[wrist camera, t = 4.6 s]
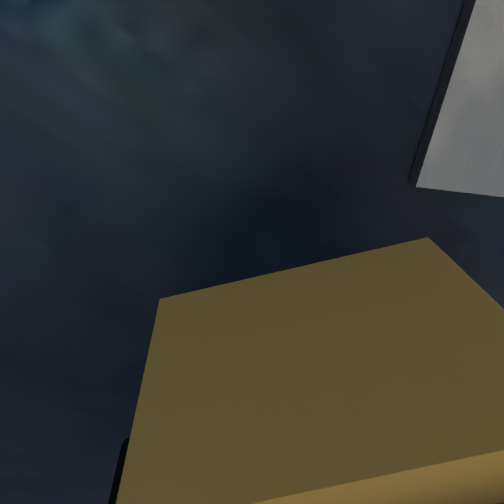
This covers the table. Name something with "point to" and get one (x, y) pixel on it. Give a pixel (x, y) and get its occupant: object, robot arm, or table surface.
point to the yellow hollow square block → (325, 388)
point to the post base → (468, 109)
